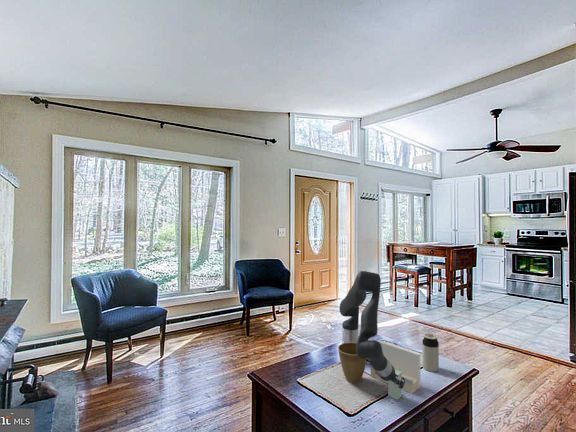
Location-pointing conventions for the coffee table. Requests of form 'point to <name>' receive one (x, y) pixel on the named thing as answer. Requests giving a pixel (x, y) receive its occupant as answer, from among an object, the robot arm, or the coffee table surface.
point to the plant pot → (351, 362)
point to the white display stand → (402, 365)
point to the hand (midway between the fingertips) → (396, 384)
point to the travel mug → (430, 352)
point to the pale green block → (395, 387)
